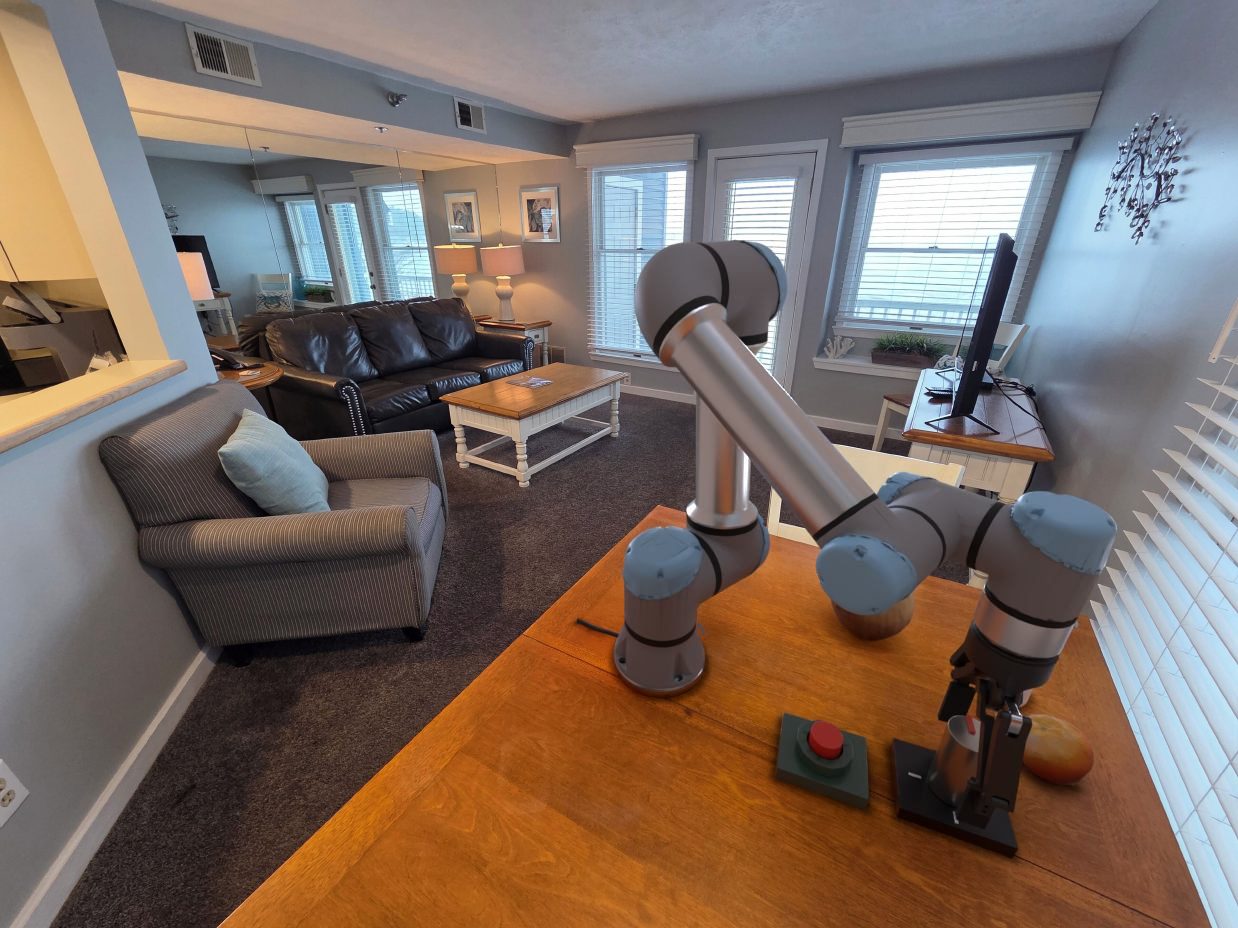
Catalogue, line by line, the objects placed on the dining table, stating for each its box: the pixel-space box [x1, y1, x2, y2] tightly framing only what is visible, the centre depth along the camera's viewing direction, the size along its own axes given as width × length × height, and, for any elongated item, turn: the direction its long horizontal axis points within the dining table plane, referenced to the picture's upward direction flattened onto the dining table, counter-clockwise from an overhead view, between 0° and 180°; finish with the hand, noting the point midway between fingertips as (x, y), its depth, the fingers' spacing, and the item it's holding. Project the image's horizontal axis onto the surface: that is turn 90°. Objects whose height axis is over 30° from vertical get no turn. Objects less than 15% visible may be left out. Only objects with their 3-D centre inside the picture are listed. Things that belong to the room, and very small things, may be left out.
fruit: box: [1023, 713, 1095, 787], centre depth 66 cm, size 8×8×8 cm
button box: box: [774, 711, 870, 811], centre depth 67 cm, size 11×9×4 cm
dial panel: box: [889, 737, 1019, 859], centre depth 63 cm, size 12×10×2 cm
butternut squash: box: [830, 591, 915, 642], centre depth 86 cm, size 14×13×25 cm
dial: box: [927, 713, 981, 807], centre depth 61 cm, size 5×5×10 cm
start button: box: [809, 720, 843, 759], centre depth 66 cm, size 4×4×2 cm
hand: (958, 766), depth 61 cm, fingers open, 13 cm apart
